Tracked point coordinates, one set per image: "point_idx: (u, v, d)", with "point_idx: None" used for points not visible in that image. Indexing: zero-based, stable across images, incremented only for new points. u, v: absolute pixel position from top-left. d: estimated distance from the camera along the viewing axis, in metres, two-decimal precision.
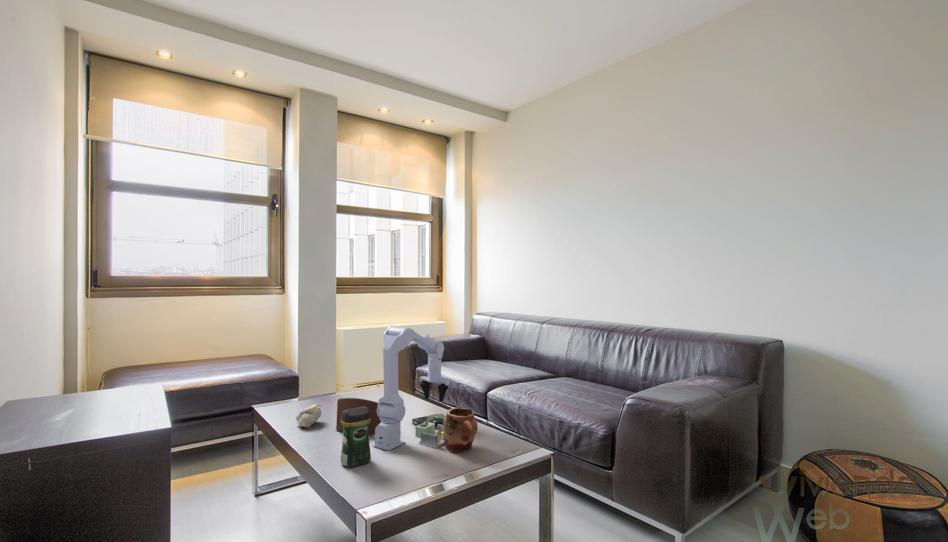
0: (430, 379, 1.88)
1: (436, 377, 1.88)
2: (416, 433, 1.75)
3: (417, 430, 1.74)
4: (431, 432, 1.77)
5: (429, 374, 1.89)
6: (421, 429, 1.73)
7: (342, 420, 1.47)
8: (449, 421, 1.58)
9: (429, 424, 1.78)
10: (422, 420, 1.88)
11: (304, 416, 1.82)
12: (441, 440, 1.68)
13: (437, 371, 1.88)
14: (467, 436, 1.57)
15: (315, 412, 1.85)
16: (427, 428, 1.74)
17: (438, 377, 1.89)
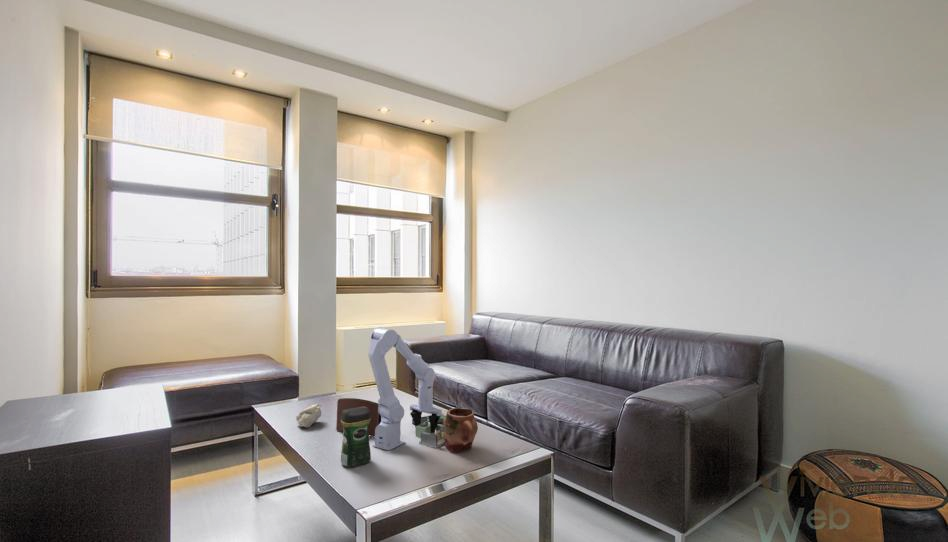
0: (421, 409, 1.74)
1: (427, 407, 1.74)
2: (416, 433, 1.75)
3: (417, 430, 1.74)
4: None
5: (420, 403, 1.75)
6: (421, 429, 1.73)
7: (342, 420, 1.47)
8: (449, 421, 1.58)
9: (429, 424, 1.78)
10: (422, 420, 1.88)
11: (304, 416, 1.82)
12: (441, 440, 1.68)
13: (428, 400, 1.75)
14: (467, 436, 1.57)
15: (315, 412, 1.85)
16: (427, 428, 1.74)
17: (429, 406, 1.75)
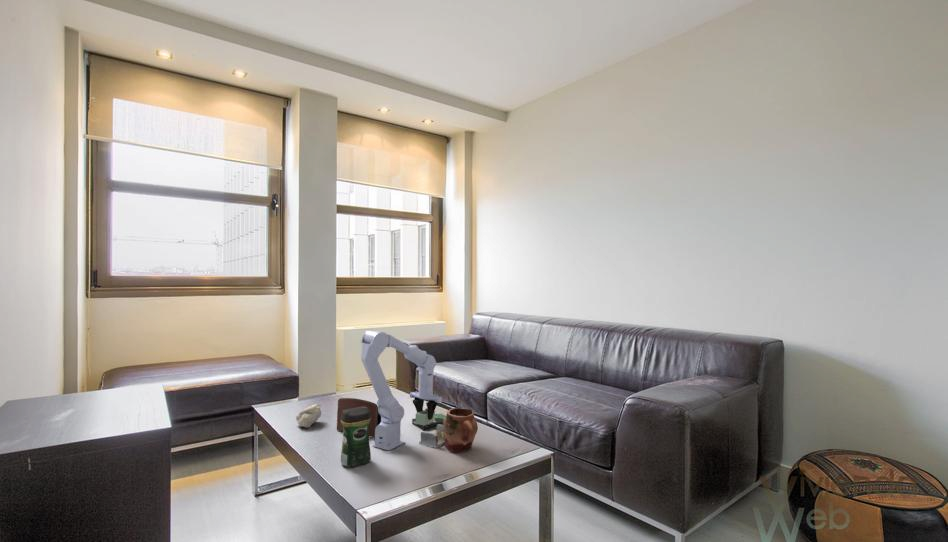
0: (421, 396, 1.75)
1: (427, 394, 1.75)
2: (416, 420, 1.75)
3: (417, 417, 1.75)
4: (431, 419, 1.77)
5: (420, 390, 1.75)
6: (421, 416, 1.74)
7: (342, 420, 1.47)
8: (449, 421, 1.58)
9: None
10: None
11: (304, 416, 1.82)
12: (441, 440, 1.68)
13: (429, 387, 1.75)
14: (467, 436, 1.57)
15: (315, 412, 1.85)
16: (427, 415, 1.75)
17: (429, 394, 1.75)
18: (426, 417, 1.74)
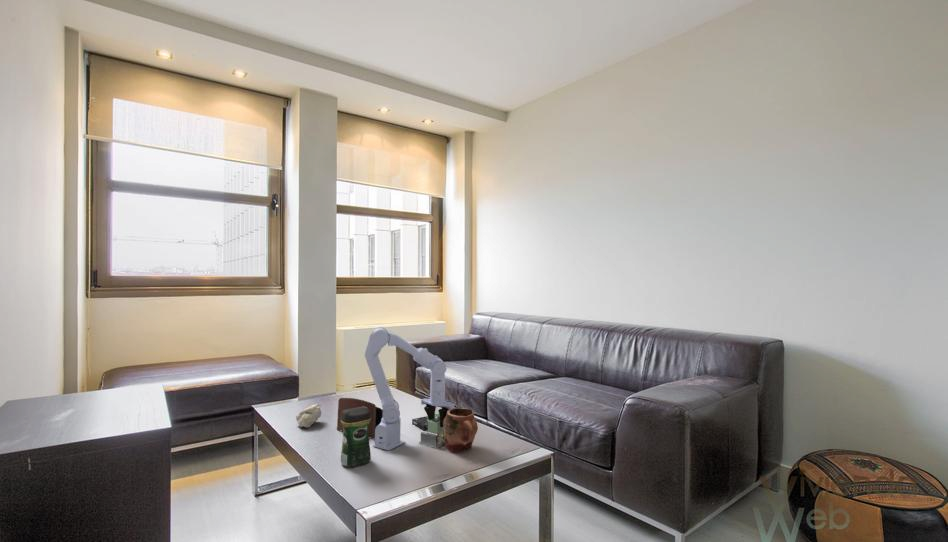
0: (433, 402, 1.68)
1: (439, 400, 1.68)
2: (428, 428, 1.68)
3: (429, 425, 1.68)
4: None
5: (431, 397, 1.68)
6: (434, 424, 1.67)
7: (342, 420, 1.47)
8: (449, 421, 1.58)
9: None
10: (422, 420, 1.87)
11: (304, 416, 1.82)
12: (441, 440, 1.68)
13: (441, 393, 1.68)
14: (467, 436, 1.57)
15: (315, 412, 1.85)
16: None
17: (442, 400, 1.68)
18: (439, 425, 1.67)
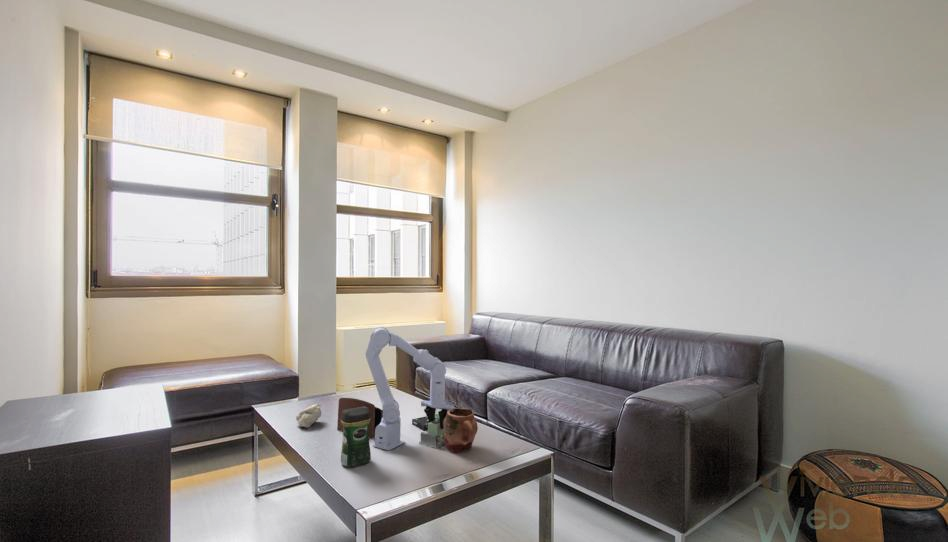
0: (433, 404, 1.68)
1: (439, 402, 1.68)
2: (428, 430, 1.68)
3: (429, 427, 1.68)
4: None
5: (431, 399, 1.69)
6: (434, 426, 1.67)
7: (342, 420, 1.47)
8: (450, 421, 1.58)
9: None
10: (422, 420, 1.87)
11: (304, 416, 1.82)
12: (441, 440, 1.68)
13: (441, 395, 1.68)
14: (467, 436, 1.57)
15: (315, 412, 1.85)
16: None
17: (442, 402, 1.68)
18: (439, 427, 1.67)
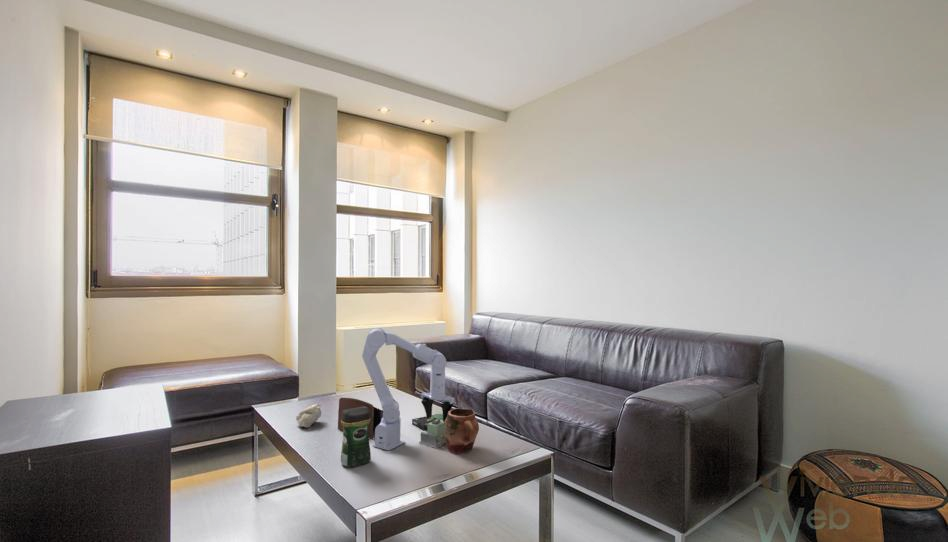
0: (433, 396, 1.68)
1: (439, 394, 1.68)
2: (428, 431, 1.68)
3: (429, 428, 1.68)
4: (444, 430, 1.70)
5: (432, 391, 1.69)
6: (433, 426, 1.67)
7: (342, 420, 1.47)
8: (450, 421, 1.58)
9: (441, 421, 1.71)
10: (422, 420, 1.87)
11: (304, 416, 1.82)
12: (441, 440, 1.68)
13: (441, 387, 1.68)
14: (468, 436, 1.56)
15: (315, 412, 1.85)
16: (440, 425, 1.68)
17: (442, 394, 1.68)
18: (438, 428, 1.67)
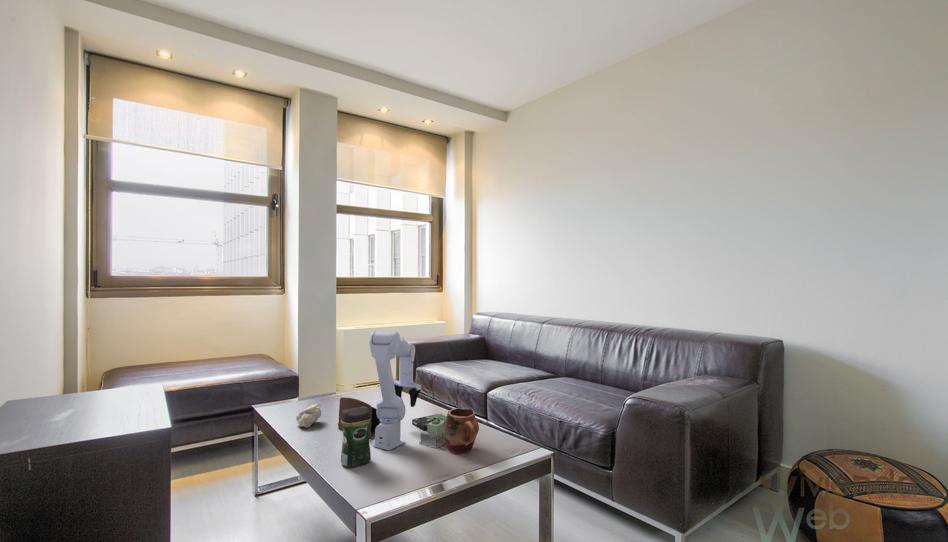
0: (401, 383, 1.81)
1: (407, 381, 1.81)
2: (428, 431, 1.68)
3: (429, 428, 1.68)
4: (444, 430, 1.70)
5: (400, 378, 1.82)
6: (433, 426, 1.67)
7: (342, 420, 1.47)
8: (451, 422, 1.58)
9: (441, 421, 1.71)
10: (422, 420, 1.87)
11: (304, 416, 1.82)
12: (441, 440, 1.68)
13: (409, 375, 1.81)
14: (468, 436, 1.56)
15: (315, 412, 1.85)
16: (440, 425, 1.68)
17: (409, 381, 1.81)
18: (438, 428, 1.67)
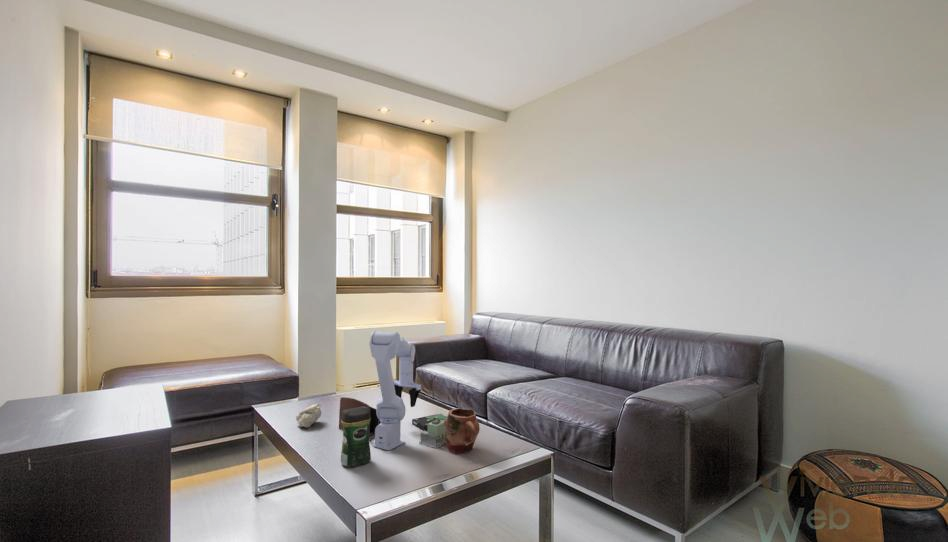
0: (401, 383, 1.81)
1: (407, 381, 1.81)
2: (428, 431, 1.68)
3: (429, 428, 1.68)
4: (444, 430, 1.70)
5: (400, 378, 1.82)
6: (433, 426, 1.67)
7: (342, 420, 1.47)
8: (452, 421, 1.58)
9: (441, 421, 1.71)
10: (422, 420, 1.87)
11: (304, 416, 1.82)
12: (441, 440, 1.68)
13: (409, 375, 1.81)
14: (469, 437, 1.56)
15: (315, 412, 1.85)
16: (440, 425, 1.68)
17: (409, 381, 1.81)
18: (438, 428, 1.67)
